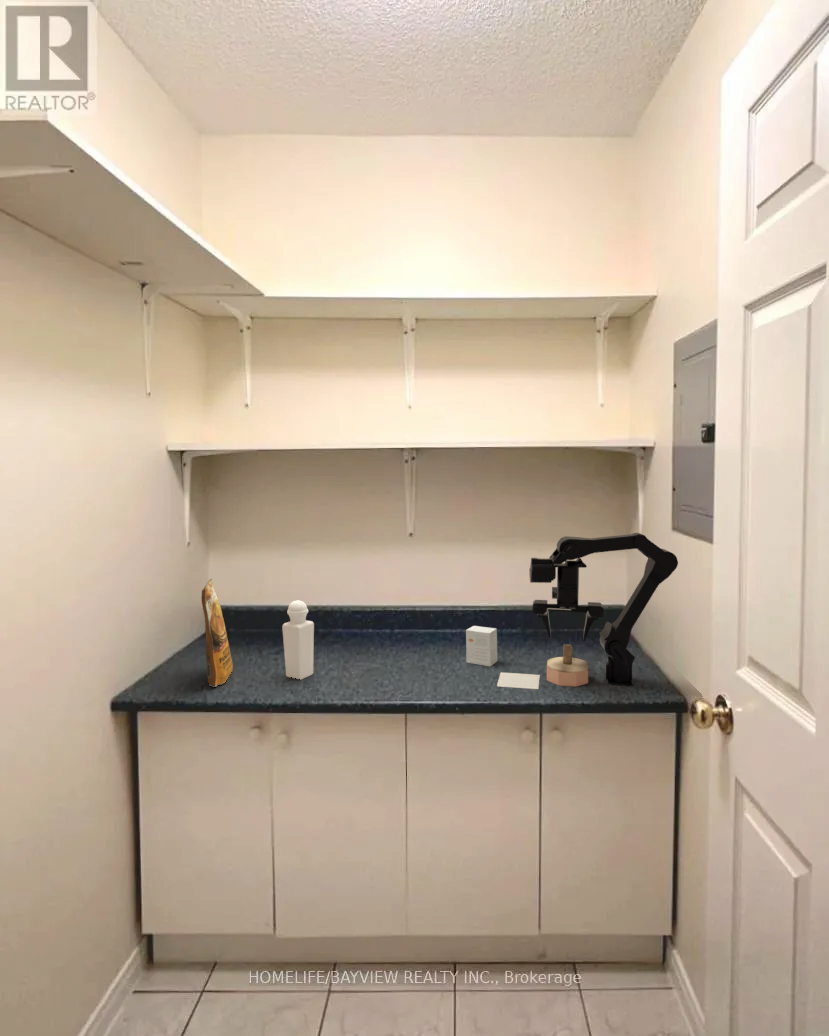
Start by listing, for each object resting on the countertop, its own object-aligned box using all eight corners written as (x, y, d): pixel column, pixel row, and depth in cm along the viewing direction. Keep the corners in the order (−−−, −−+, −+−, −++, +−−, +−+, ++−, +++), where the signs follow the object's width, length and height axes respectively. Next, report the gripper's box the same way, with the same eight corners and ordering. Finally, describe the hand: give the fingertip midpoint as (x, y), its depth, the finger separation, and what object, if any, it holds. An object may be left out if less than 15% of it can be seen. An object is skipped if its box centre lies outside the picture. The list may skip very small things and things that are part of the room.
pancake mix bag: (197, 691, 166) (192, 589, 163) (214, 668, 184) (209, 576, 182) (222, 690, 166) (218, 588, 164) (236, 667, 185) (232, 575, 182)
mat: (539, 676, 173) (539, 674, 173) (538, 690, 163) (538, 689, 163) (500, 673, 176) (500, 672, 176) (496, 687, 165) (496, 686, 165)
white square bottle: (300, 680, 172) (298, 604, 170) (283, 676, 176) (280, 601, 174) (315, 673, 178) (313, 599, 176) (298, 670, 181) (296, 597, 179)
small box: (497, 662, 186) (497, 628, 185) (490, 667, 181) (490, 632, 180) (473, 658, 190) (473, 625, 189) (465, 663, 185) (465, 629, 184)
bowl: (586, 674, 174) (587, 660, 174) (588, 688, 164) (588, 674, 163) (547, 672, 177) (547, 658, 176) (546, 685, 166) (546, 671, 166)
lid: (587, 660, 174) (587, 640, 173) (588, 674, 163) (589, 652, 163) (547, 658, 176) (547, 638, 176) (546, 671, 166) (546, 650, 165)
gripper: (601, 578, 173) (600, 632, 175) (534, 576, 178) (533, 629, 179) (604, 586, 163) (602, 644, 164) (532, 583, 167) (532, 639, 168)
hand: (566, 638), depth 169 cm, fingers open, 9 cm apart
